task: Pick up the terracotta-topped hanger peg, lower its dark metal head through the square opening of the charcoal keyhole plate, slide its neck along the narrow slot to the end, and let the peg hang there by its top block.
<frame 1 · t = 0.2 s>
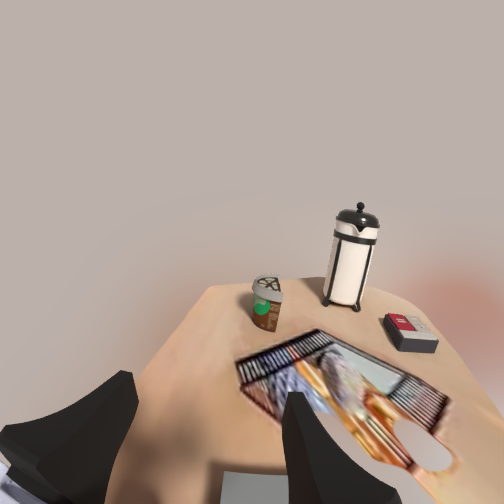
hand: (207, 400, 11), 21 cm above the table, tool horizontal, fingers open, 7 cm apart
coffee press: (338, 301, 81), on the table
food container: (260, 321, 64), on the table
red and grey box: (406, 339, 61), on the table
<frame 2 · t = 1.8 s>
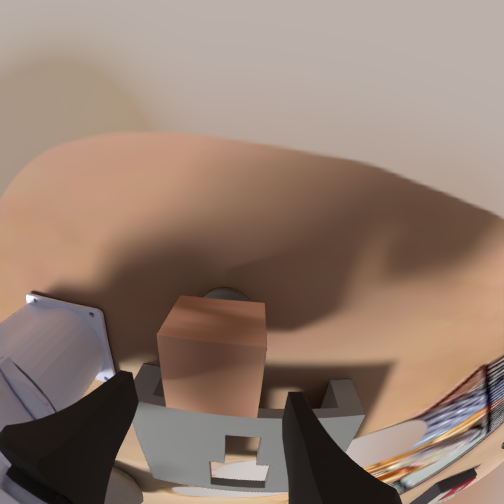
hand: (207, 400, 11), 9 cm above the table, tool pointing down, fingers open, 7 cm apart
keyhole plate: (242, 427, 23), on the table
red and grey box: (441, 485, 33), on the table
coffee pot: (114, 463, 28), on the table
hanger peg: (225, 312, 20), on the table
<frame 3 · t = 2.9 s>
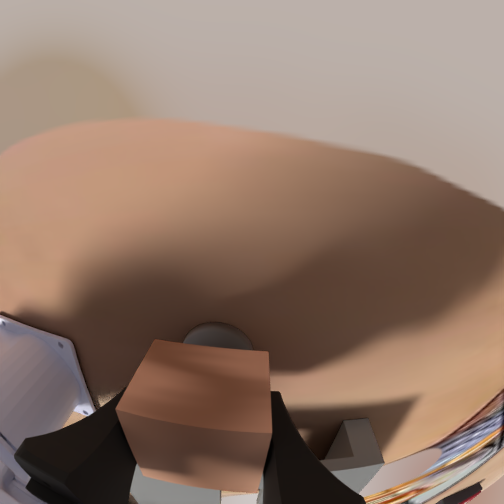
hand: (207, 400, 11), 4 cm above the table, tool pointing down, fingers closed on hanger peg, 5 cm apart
keyhole plate: (241, 466, 18), on the table
red and grey box: (446, 500, 29), on the table
hanger peg: (217, 352, 15), on the table, touching gripper
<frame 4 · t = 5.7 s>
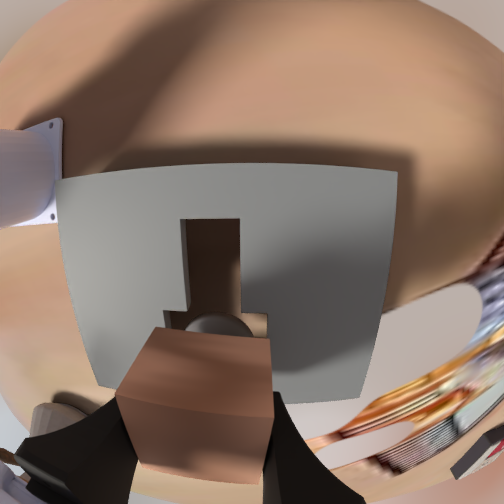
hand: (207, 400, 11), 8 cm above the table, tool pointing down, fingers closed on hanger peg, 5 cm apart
keyhole plate: (223, 276, 18), on the table
red and grey box: (485, 442, 28), on the table
coffee pot: (76, 401, 23), on the table
hanger peg: (218, 342, 15), point 4 cm above the table, touching gripper
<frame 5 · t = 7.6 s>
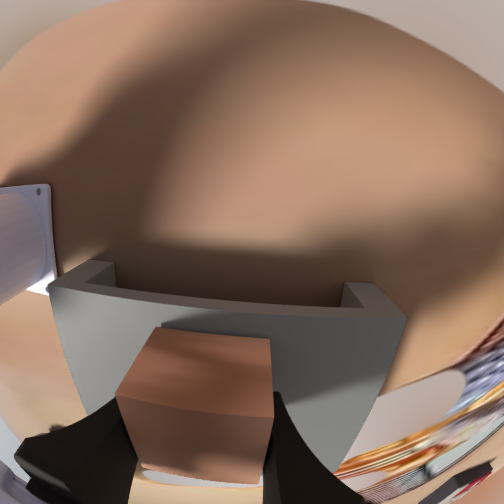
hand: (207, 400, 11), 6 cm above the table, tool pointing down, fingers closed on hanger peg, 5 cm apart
keyhole plate: (221, 369, 18), on the table
red and grey box: (455, 481, 28), on the table
hanger peg: (218, 342, 15), point 2 cm above the table, touching gripper
when the fingers open (6 cm above the table, at t = 8.7 s): hanger peg stays where it is, resting on keyhole plate.
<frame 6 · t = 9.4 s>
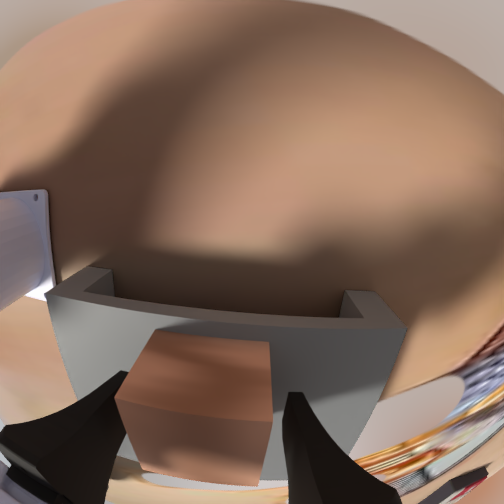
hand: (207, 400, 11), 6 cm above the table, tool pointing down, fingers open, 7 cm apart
keyhole plate: (220, 376, 17), on the table
red and grey box: (450, 485, 28), on the table
hanger peg: (218, 344, 15), point 1 cm above the table, touching keyhole plate
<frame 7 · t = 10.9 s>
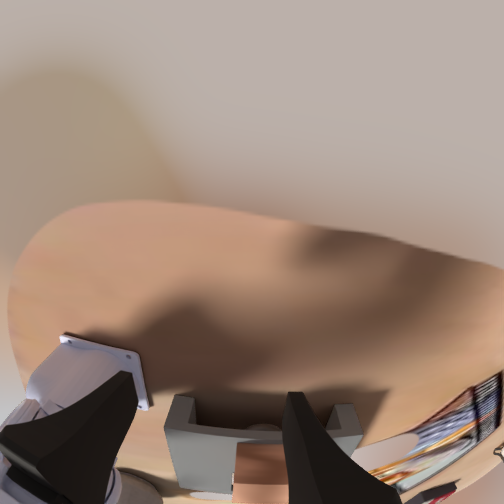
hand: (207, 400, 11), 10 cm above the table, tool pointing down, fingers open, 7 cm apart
keyhole plate: (259, 442, 26), on the table
red and grey box: (424, 495, 37), on the table
coffee pot: (137, 472, 31), on the table
hanger peg: (262, 434, 24), point 1 cm above the table, touching keyhole plate
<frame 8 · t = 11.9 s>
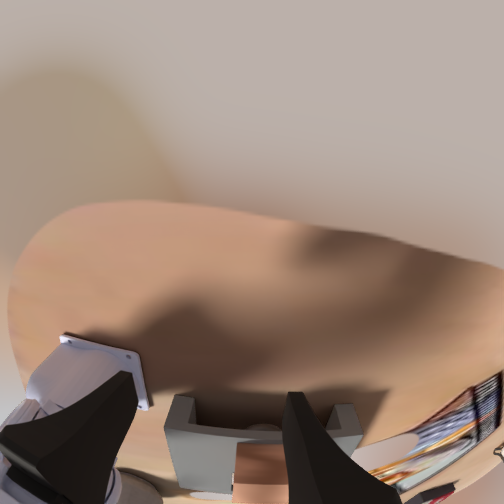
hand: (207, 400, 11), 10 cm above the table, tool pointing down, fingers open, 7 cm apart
keyhole plate: (259, 442, 26), on the table
red and grey box: (422, 496, 37), on the table
coffee pot: (137, 472, 31), on the table
hanger peg: (262, 434, 24), point 1 cm above the table, touching keyhole plate
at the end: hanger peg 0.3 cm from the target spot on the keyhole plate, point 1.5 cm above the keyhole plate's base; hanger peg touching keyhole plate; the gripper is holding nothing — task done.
